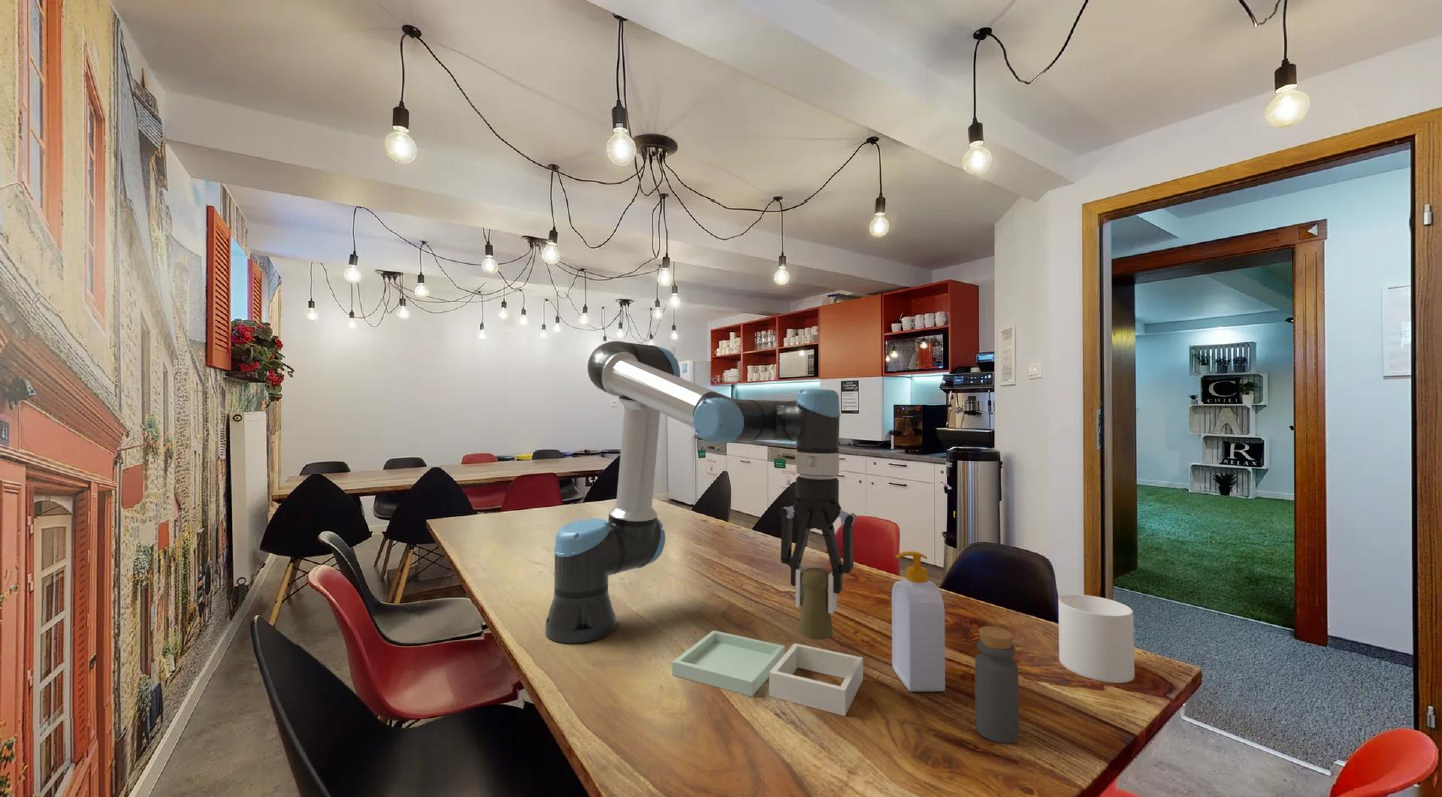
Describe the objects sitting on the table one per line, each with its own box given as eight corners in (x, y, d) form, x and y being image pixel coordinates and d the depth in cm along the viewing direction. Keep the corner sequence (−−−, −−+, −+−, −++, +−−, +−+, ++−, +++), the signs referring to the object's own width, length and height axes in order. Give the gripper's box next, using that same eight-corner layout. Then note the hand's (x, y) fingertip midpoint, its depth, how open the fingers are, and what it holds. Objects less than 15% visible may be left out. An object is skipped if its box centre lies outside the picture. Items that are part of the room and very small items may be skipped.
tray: (672, 674, 97) (672, 661, 97) (713, 641, 111) (713, 630, 111) (752, 696, 90) (752, 682, 90) (784, 658, 104) (784, 645, 104)
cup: (1067, 648, 109) (1066, 590, 110) (1139, 668, 101) (1137, 604, 101) (1052, 667, 101) (1051, 604, 101) (1128, 690, 93) (1127, 621, 93)
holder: (769, 695, 90) (769, 672, 90) (794, 664, 102) (794, 642, 102) (845, 716, 84) (845, 690, 84) (862, 679, 96) (862, 657, 96)
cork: (833, 641, 90) (833, 576, 90) (797, 637, 91) (798, 573, 91) (832, 626, 96) (833, 565, 96) (799, 623, 97) (799, 563, 97)
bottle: (967, 721, 83) (967, 624, 83) (1003, 720, 83) (1002, 623, 84) (989, 744, 77) (988, 640, 77) (1027, 743, 77) (1026, 639, 78)
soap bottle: (887, 668, 100) (887, 546, 101) (924, 667, 100) (923, 546, 101) (905, 693, 91) (905, 559, 92) (945, 692, 91) (944, 559, 92)
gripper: (761, 474, 95) (760, 605, 94) (864, 482, 87) (863, 625, 86) (776, 470, 102) (775, 592, 101) (873, 477, 93) (872, 610, 93)
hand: (815, 607), depth 94 cm, fingers closed on cork, 5 cm apart
